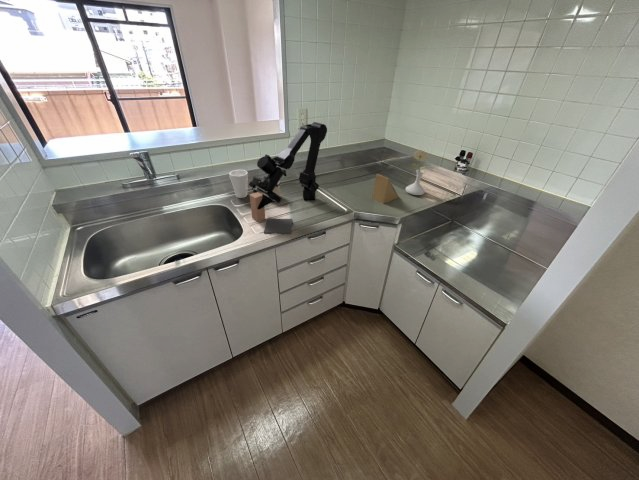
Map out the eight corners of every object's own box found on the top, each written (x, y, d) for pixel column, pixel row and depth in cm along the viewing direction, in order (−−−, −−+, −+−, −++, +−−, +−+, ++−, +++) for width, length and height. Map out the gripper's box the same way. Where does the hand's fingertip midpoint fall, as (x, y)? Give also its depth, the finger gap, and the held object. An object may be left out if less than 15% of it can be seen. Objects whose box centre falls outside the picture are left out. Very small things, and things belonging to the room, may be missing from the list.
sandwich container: (399, 197, 154) (406, 172, 146) (383, 204, 146) (388, 178, 137) (388, 192, 159) (393, 168, 151) (371, 198, 151) (376, 173, 142)
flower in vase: (427, 194, 159) (440, 153, 145) (415, 198, 153) (428, 156, 139) (410, 186, 168) (421, 147, 153) (398, 190, 162) (408, 149, 148)
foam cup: (234, 191, 150) (231, 169, 142) (251, 191, 150) (248, 169, 143) (231, 199, 142) (227, 176, 134) (248, 199, 143) (246, 176, 135)
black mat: (291, 219, 127) (291, 218, 127) (290, 233, 117) (290, 232, 117) (266, 219, 126) (266, 218, 126) (263, 233, 116) (263, 232, 116)
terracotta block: (260, 215, 129) (257, 191, 122) (265, 218, 127) (263, 195, 120) (252, 218, 126) (249, 194, 119) (257, 221, 124) (255, 197, 117)
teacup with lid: (281, 194, 150) (280, 174, 143) (280, 201, 142) (279, 181, 135) (260, 193, 149) (258, 174, 142) (257, 200, 142) (255, 180, 135)
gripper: (249, 164, 121) (231, 192, 120) (274, 176, 110) (255, 207, 110) (265, 176, 130) (248, 202, 130) (289, 188, 120) (271, 217, 119)
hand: (255, 207), depth 122 cm, fingers closed on terracotta block, 4 cm apart
